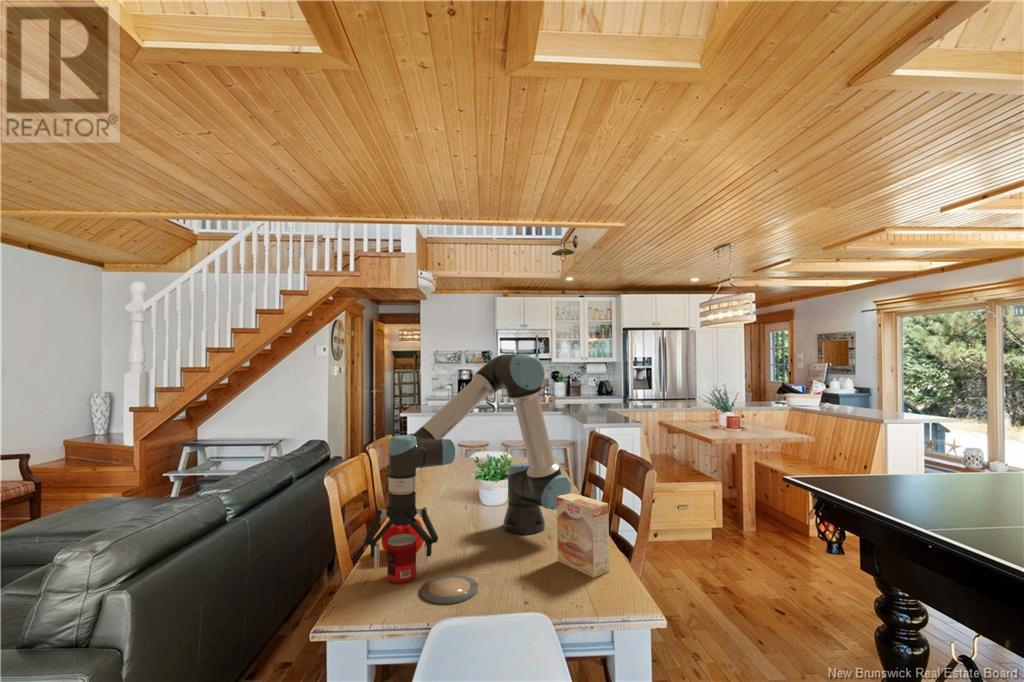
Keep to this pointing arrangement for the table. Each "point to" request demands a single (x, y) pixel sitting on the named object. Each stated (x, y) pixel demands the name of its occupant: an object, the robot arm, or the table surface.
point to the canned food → (401, 558)
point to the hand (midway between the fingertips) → (401, 568)
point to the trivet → (449, 589)
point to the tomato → (401, 530)
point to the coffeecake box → (583, 534)
